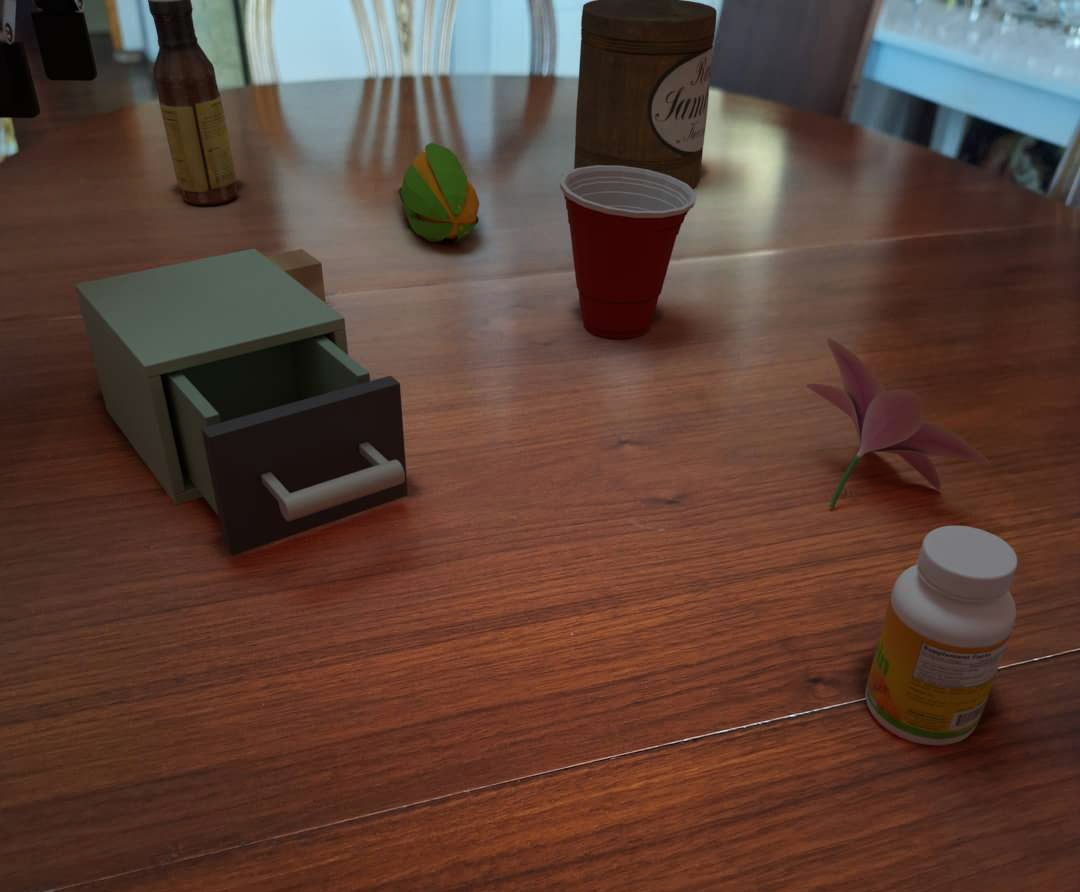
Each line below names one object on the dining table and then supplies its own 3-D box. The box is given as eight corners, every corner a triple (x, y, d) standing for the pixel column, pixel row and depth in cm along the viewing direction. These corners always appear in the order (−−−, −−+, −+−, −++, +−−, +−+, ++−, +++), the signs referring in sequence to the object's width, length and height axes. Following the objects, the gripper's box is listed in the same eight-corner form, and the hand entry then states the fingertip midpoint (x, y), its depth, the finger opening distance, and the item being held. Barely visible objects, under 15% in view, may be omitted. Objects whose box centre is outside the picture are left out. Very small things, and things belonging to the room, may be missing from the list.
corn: (413, 177, 95) (385, 122, 111) (412, 257, 100) (385, 194, 115) (492, 178, 97) (453, 124, 113) (487, 257, 101) (450, 194, 117)
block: (283, 317, 88) (277, 271, 86) (265, 301, 91) (258, 257, 89) (326, 307, 90) (321, 262, 88) (307, 292, 93) (301, 248, 90)
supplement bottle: (865, 662, 54) (907, 506, 48) (974, 684, 53) (1030, 527, 47) (860, 734, 50) (905, 574, 44) (979, 760, 48) (1040, 598, 43)
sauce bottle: (236, 187, 117) (206, -10, 105) (241, 204, 112) (210, 0, 100) (176, 192, 115) (138, -8, 104) (178, 210, 110) (139, 2, 99)
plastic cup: (665, 362, 82) (679, 212, 75) (537, 340, 85) (539, 193, 78) (696, 311, 91) (712, 171, 84) (579, 293, 93) (584, 156, 86)
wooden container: (685, 204, 115) (706, -20, 102) (557, 188, 118) (563, -30, 106) (711, 168, 126) (733, -38, 113) (594, 155, 130) (603, -46, 117)
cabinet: (358, 449, 71) (345, 317, 65) (175, 506, 65) (144, 366, 59) (272, 368, 80) (254, 247, 75) (107, 411, 74) (74, 283, 69)
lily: (975, 564, 63) (1044, 414, 61) (815, 511, 59) (884, 349, 57) (868, 512, 74) (923, 384, 72) (728, 464, 70) (782, 328, 68)
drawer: (442, 528, 62) (437, 412, 57) (261, 594, 56) (238, 472, 52) (315, 408, 73) (302, 304, 69) (155, 454, 68) (129, 344, 63)
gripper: (-40, -245, 61) (37, 66, 71) (-209, -257, 47) (-84, 132, 57) (87, -242, 62) (147, 68, 72) (-44, -254, 47) (53, 134, 57)
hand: (44, 96), depth 64 cm, fingers open, 9 cm apart
